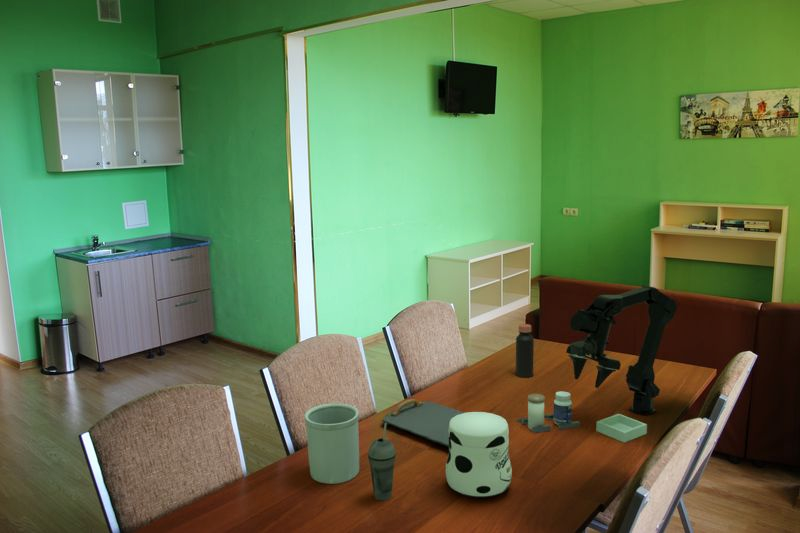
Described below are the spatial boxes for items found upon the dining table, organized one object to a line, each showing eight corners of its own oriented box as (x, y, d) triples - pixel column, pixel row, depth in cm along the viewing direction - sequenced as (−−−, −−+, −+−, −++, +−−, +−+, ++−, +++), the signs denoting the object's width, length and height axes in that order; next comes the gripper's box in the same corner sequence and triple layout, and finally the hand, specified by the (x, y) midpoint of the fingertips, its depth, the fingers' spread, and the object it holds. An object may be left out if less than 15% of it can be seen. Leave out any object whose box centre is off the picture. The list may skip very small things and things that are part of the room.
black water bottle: (534, 377, 262) (535, 327, 258) (517, 378, 262) (517, 328, 259) (531, 372, 269) (532, 323, 265) (514, 372, 269) (514, 323, 265)
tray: (618, 422, 218) (618, 413, 218) (646, 433, 210) (647, 424, 209) (596, 430, 212) (596, 421, 212) (624, 442, 204) (624, 432, 203)
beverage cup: (368, 489, 179) (366, 418, 176) (395, 488, 180) (394, 416, 176) (369, 504, 172) (367, 429, 168) (398, 502, 173) (396, 428, 169)
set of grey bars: (561, 413, 227) (562, 409, 226) (580, 426, 216) (580, 422, 216) (515, 420, 222) (515, 416, 222) (532, 434, 211) (532, 429, 211)
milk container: (523, 497, 174) (523, 431, 170) (460, 508, 169) (459, 441, 166) (495, 467, 190) (495, 406, 187) (436, 477, 185) (435, 415, 182)
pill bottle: (571, 427, 216) (572, 397, 214) (553, 425, 217) (554, 396, 215) (571, 419, 221) (571, 390, 220) (553, 418, 223) (553, 390, 221)
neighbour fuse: (535, 422, 220) (536, 392, 218) (547, 427, 216) (548, 397, 214) (524, 426, 217) (524, 396, 215) (535, 431, 213) (536, 400, 211)
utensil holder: (339, 490, 179) (337, 428, 176) (296, 477, 187) (293, 417, 184) (371, 467, 191) (369, 409, 188) (329, 456, 199) (327, 399, 196)
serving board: (513, 437, 211) (513, 418, 210) (465, 462, 195) (465, 441, 194) (422, 405, 238) (421, 389, 237) (373, 425, 222) (373, 407, 220)
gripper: (559, 325, 218) (547, 372, 218) (601, 339, 201) (588, 389, 202) (584, 330, 223) (573, 376, 224) (627, 344, 207) (614, 393, 207)
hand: (586, 383), depth 214 cm, fingers open, 9 cm apart
